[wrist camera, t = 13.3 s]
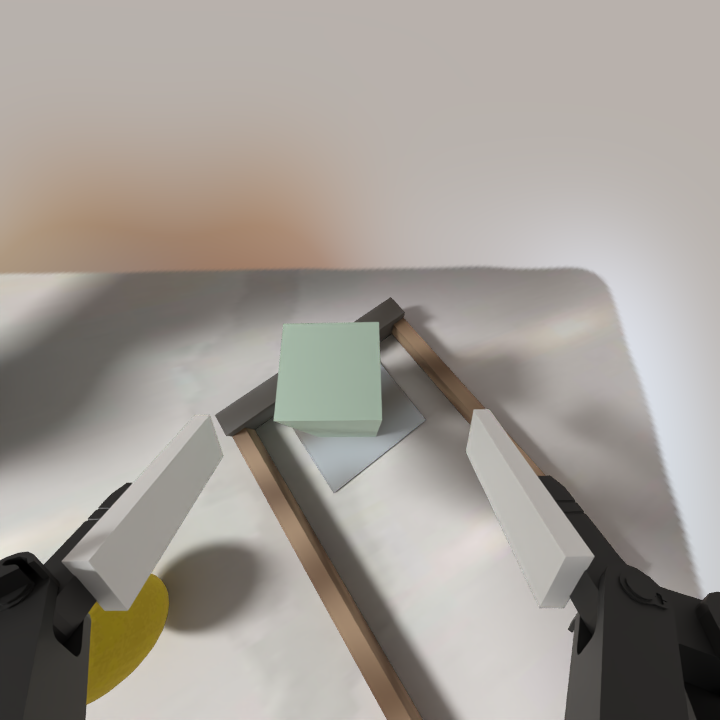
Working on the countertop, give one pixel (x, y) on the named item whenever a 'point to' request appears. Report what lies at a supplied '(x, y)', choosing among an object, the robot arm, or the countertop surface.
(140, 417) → the countertop surface
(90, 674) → the lemon
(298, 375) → the block
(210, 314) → the countertop surface
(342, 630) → the track
